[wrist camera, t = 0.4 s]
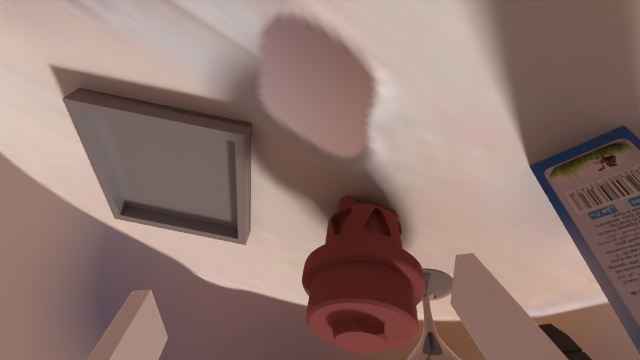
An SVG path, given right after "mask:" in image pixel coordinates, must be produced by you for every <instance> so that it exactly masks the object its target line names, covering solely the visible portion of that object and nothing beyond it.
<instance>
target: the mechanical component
mask: <svg viewBox="0 0 640 360" xmlns="http://www.w3.org/2000/svg"><path fill="white" fill-rule="evenodd" d="M400 235H401V226H400V223H399V220H398V214H397V213H395V212H393V211H388V210H386V209H385V208H382V207H380V206H376V205H372V204H361V203H359V202H357V201H356V200H354V199H353V198H349V197H346V198H343V199H341V200H340V204H339V210H338V211H336V212H335V213H334V214H333V215H332V216H331V218H330V219H329V222H328V229H327V236H326V243H325V245H323V246H321V247H319V248H317V249H316V250H314V251H313V252H312V253H311V254H310V255H309V256H308V258H307V260H306V262H305V266H304V271H303V276H302V284H303V287H304V290H305V291H306V293H307V294H308V295H309V302H308V309H307V314H306V324H307V326H308V327H309V329H310V330H311V331H312V332H313V333H315V334H316V335H317V336H319V337H320V338H322V339H323V340H326V341H327V342H329V343H332V344H334V345H337V346H339V347H341V348H342V349H345V350H347V351H350V352H355V353H361V354H371V353H377V352H380V351H382V350H389V349H394V348H398V347H400V346H403V345H405V344H407V343H409V342H411V341H412V340H413V339H414V338H415V337H416V336H417V334H418V331H419V330H418V329H419V328H418V318H417V308H416V305H417V304H418V303H419V302H420V301H421V300H422V298H423V297H424V294H425V280H424V273H423V269H422V267H421V265H420V263H419V262H418V261H417V260H416V259H415V258H414V257H413V256H412V255H411V254H410V253H408V252H407V251H405V250H403V249H402V244H401V238H400Z"/></svg>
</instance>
